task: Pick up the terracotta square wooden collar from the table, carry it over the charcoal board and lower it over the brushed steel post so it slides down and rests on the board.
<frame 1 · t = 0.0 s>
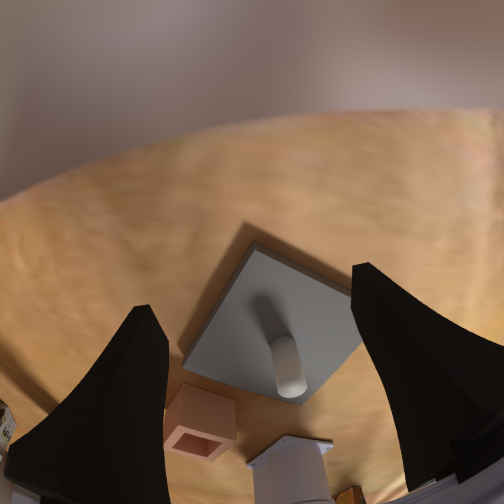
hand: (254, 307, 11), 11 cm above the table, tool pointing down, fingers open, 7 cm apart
pancake mix bag: (348, 496, 46), on the table
post board: (280, 334, 24), on the table
collar: (199, 405, 28), on the table
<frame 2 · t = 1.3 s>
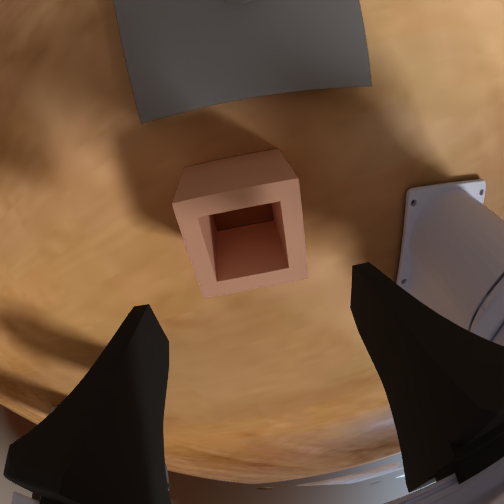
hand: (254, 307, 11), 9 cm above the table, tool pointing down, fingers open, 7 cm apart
collar: (240, 199, 18), on the table
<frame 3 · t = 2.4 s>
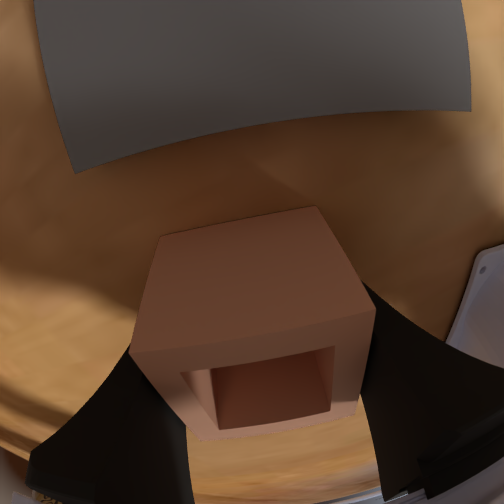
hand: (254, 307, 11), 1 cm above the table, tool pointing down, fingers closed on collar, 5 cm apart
collar: (250, 282, 12), on the table, touching gripper
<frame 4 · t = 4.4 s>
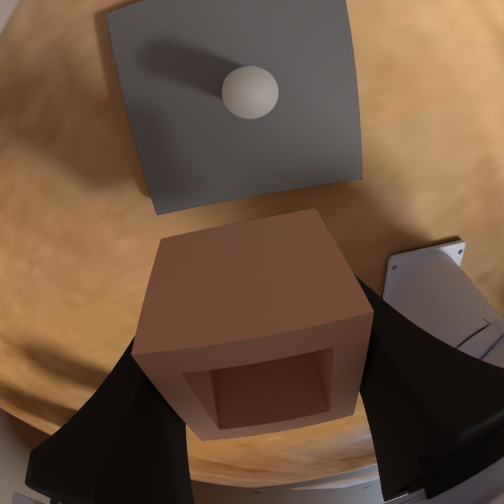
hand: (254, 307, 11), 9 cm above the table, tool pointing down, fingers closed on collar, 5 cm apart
post board: (241, 86, 15), on the table
collar: (250, 283, 12), point 8 cm above the table, touching gripper
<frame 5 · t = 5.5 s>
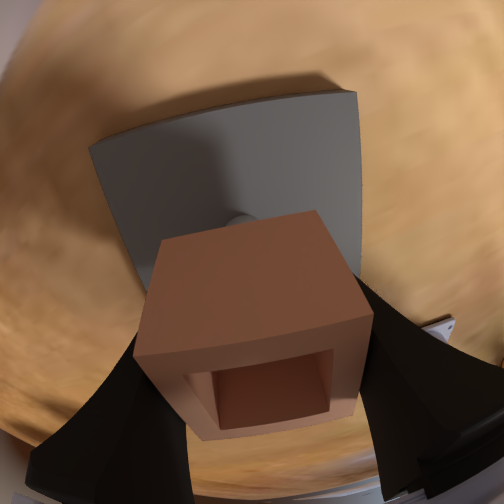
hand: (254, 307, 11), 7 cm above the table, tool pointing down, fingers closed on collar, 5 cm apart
post board: (242, 219, 16), on the table
collar: (251, 284, 12), point 5 cm above the table, touching gripper
when the fingers open (4 cm above the table, at t = 6.5 s): collar drops 1 cm, resting on post board.
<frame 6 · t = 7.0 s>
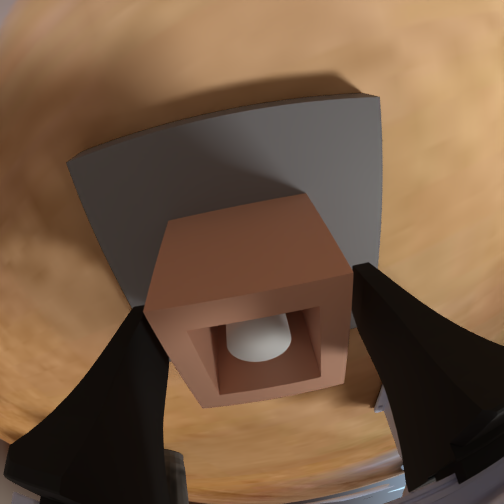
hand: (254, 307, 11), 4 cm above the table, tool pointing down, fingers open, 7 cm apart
beverage cup: (164, 453, 30), on the table
post board: (245, 241, 14), on the table
collar: (248, 263, 13), point 1 cm above the table, touching post board
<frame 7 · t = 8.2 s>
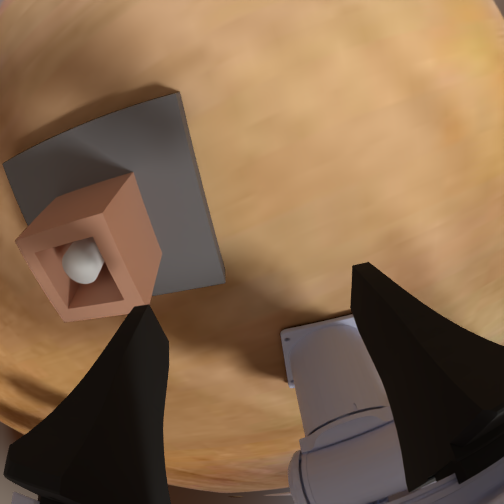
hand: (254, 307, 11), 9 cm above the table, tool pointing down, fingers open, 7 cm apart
post board: (113, 211, 18), on the table
collar: (107, 225, 17), point 1 cm above the table, touching post board
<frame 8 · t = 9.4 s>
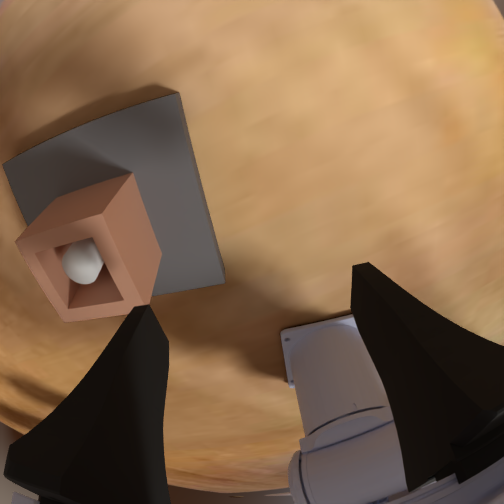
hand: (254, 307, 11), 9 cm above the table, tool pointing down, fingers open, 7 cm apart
post board: (113, 212, 18), on the table
collar: (107, 225, 17), point 1 cm above the table, touching post board
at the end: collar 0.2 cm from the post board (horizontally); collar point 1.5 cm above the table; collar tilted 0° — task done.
